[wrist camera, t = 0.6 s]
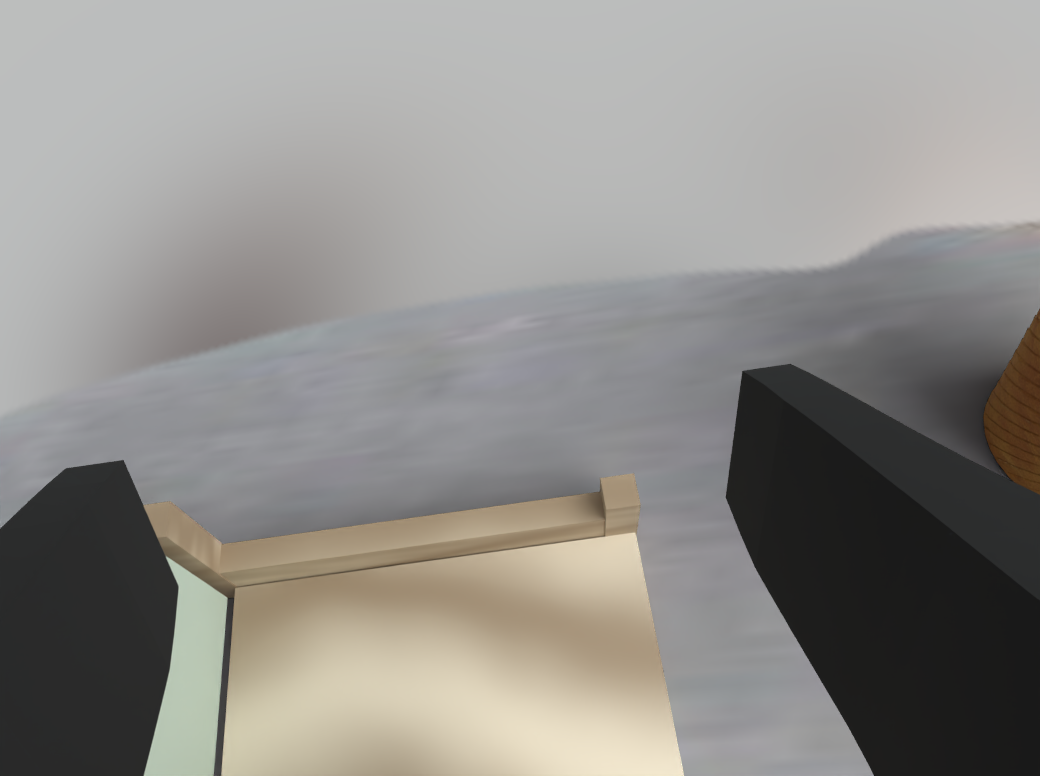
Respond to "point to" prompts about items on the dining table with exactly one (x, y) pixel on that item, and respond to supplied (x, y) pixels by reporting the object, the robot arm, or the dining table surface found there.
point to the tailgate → (191, 683)
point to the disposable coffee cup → (1018, 413)
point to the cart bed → (442, 643)
